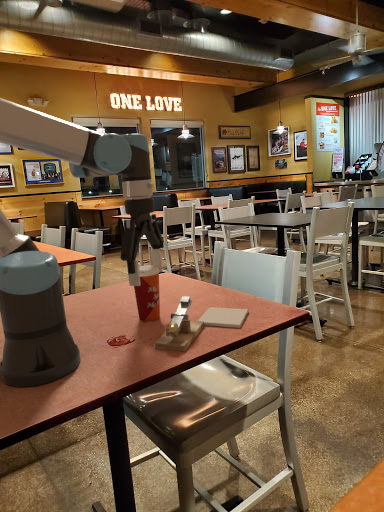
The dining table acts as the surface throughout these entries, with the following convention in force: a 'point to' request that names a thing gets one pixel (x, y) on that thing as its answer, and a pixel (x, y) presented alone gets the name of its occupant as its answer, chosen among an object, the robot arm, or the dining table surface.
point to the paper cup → (148, 293)
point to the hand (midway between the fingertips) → (147, 278)
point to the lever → (179, 317)
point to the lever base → (180, 336)
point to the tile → (224, 317)
